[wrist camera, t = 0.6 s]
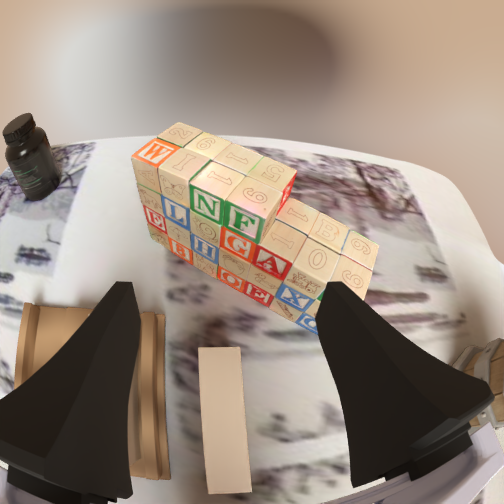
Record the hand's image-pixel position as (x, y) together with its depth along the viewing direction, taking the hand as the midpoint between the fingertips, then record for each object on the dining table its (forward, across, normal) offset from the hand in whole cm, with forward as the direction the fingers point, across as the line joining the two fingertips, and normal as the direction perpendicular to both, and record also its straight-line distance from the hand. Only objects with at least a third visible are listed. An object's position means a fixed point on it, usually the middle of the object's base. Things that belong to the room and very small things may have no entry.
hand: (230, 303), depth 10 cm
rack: (+4, +13, +16) cm, 21 cm away
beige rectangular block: (+2, 0, +17) cm, 17 cm away
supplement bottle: (+29, +27, +5) cm, 40 cm away
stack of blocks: (+17, -3, +11) cm, 20 cm away
